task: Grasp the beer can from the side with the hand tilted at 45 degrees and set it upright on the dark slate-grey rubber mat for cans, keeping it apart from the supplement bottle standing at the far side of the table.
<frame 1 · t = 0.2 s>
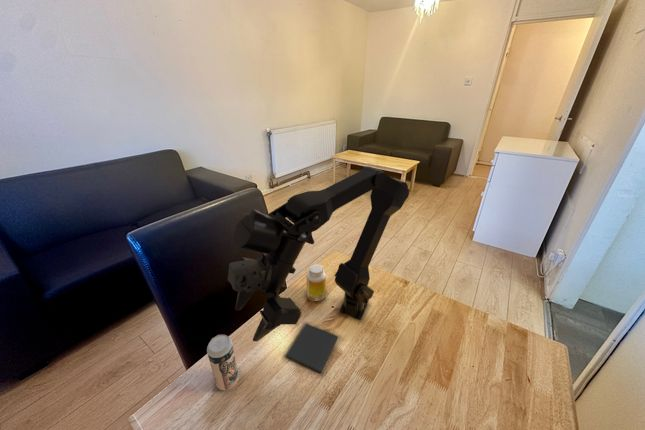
hand: (245, 324, 52), 14 cm above the table, tool tilted 35°, fingers open, 9 cm apart
supplement bottle: (316, 295, 79), on the table
beer can: (228, 380, 56), on the table
can mat: (313, 347, 64), on the table
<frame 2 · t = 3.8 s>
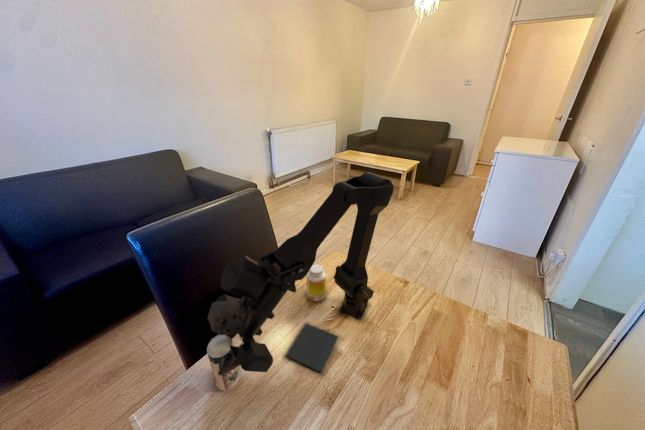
hand: (216, 364, 53), 7 cm above the table, tool tilted 45°, fingers closed on beer can, 5 cm apart
beer can: (228, 380, 56), on the table, touching gripper
everything else where it was.
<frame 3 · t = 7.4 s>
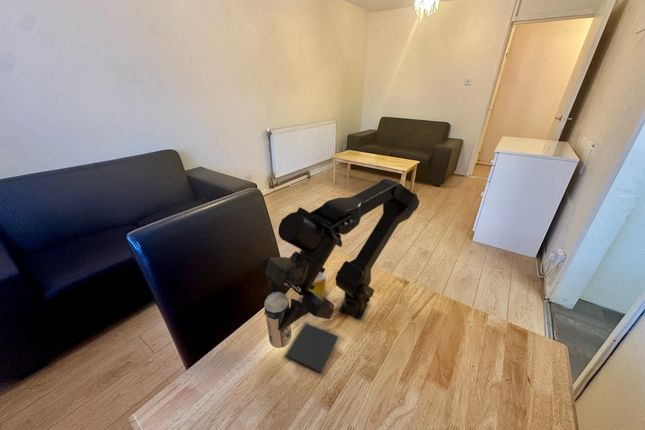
hand: (272, 322, 53), 14 cm above the table, tool tilted 45°, fingers closed on beer can, 5 cm apart
beer can: (280, 340, 57), point 7 cm above the table, touching gripper
everything else where it was.
when the fingers open (7 cm above the table, at t = 10.9 s): beer can stays where it is, resting on can mat.
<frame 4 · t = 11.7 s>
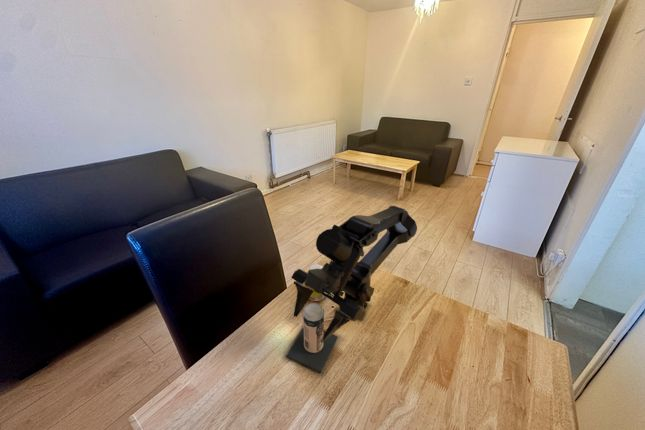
hand: (308, 327, 59), 8 cm above the table, tool tilted 45°, fingers open, 9 cm apart
beer can: (313, 345, 64), resting on can mat
everything else where it was.
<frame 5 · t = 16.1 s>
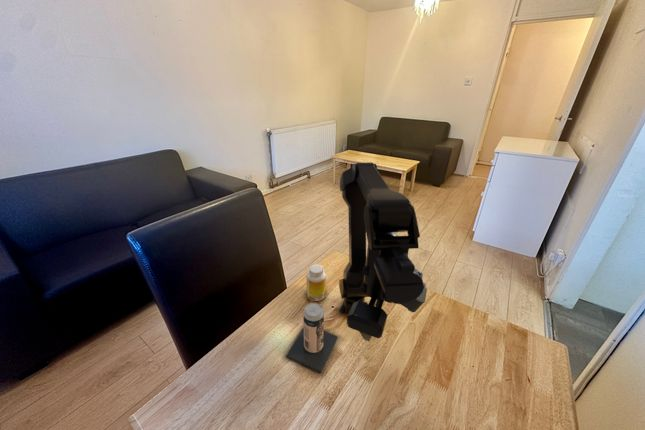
hand: (372, 322, 55), 13 cm above the table, tool pointing down, fingers open, 9 cm apart
nothing on the table moved.
at the end: beer can inside the target area on the can mat (0.1 cm from its centre), point 0.4 cm above the can mat's base; beer can tilted 0°; supplement bottle moved 0.2 cm from its start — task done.
